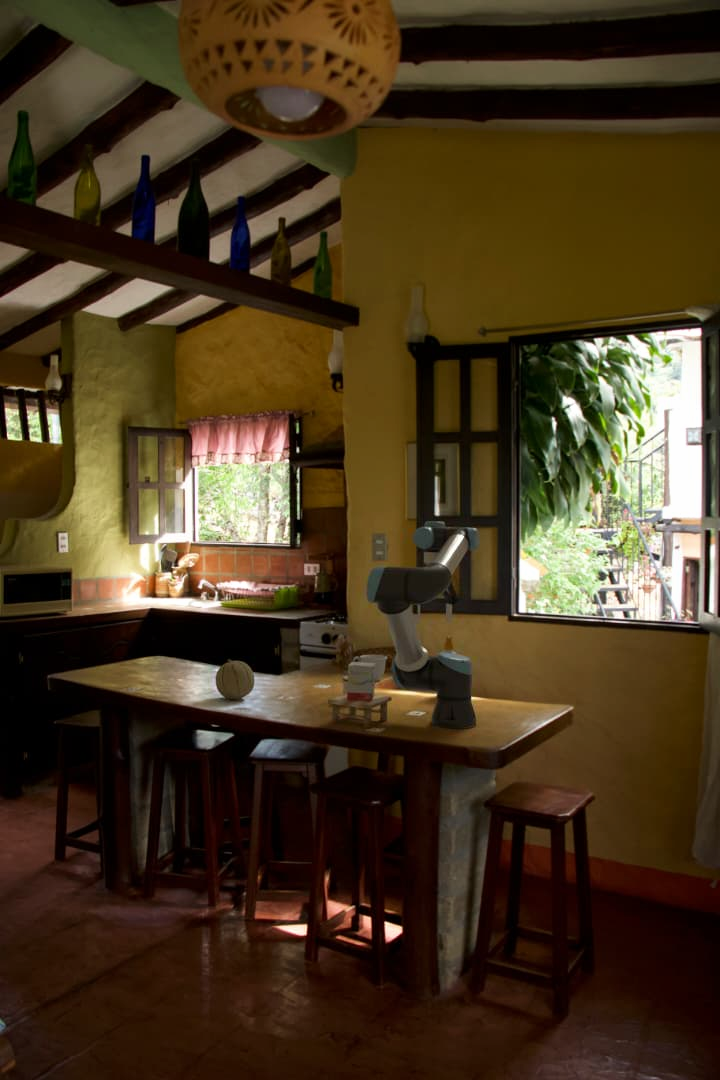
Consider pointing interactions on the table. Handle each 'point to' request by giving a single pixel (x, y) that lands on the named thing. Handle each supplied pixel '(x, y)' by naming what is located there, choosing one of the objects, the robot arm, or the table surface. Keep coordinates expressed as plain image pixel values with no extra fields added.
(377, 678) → the teacup
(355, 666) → the ink box
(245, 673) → the cantaloupe
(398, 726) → the table surface
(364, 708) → the footstool
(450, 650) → the soap bottle
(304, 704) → the table surface
